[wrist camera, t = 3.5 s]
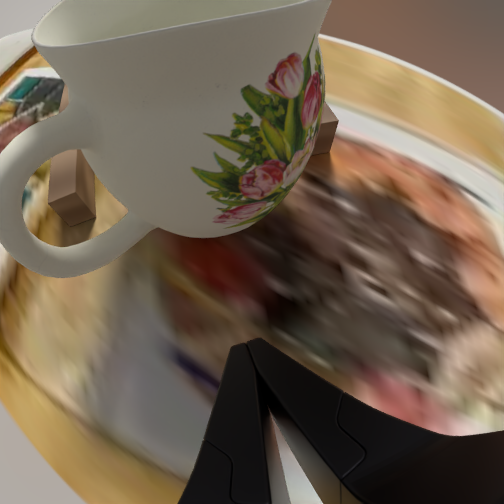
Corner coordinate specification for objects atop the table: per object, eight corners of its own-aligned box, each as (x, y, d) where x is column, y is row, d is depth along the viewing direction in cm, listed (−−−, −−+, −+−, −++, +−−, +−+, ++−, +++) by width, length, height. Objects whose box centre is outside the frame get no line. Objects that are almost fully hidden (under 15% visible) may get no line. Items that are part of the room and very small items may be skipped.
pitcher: (52, 253, 17) (-92, 112, 5) (229, 90, 23) (219, -69, 10) (169, 376, 15) (-83, 328, 2) (351, 153, 20) (411, -32, 7)
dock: (329, 151, 20) (342, 108, 16) (70, 226, 18) (39, 194, 14) (252, 38, 26) (252, 6, 23) (80, 85, 24) (66, 56, 21)
